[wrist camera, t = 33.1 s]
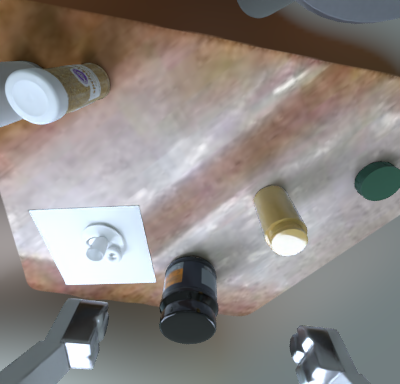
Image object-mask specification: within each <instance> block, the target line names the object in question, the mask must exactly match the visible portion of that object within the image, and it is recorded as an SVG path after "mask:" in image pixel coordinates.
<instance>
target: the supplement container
mask: <svg viewBox="0 0 400 384" xmlns="http://www.w3.org/2000/svg"><path fill="white" fill-rule="evenodd" d="M216 278H217V277H216V272H215V269H214V268H213V266H212V265H211V264H210V263H209V262H207V261H206V260H204V259H201V258H198V257H183V258H179V259H177V260H175V261H174V262H172V263H171V264H170V265H169V267H168V268H167V270H166V274H165V282H164V288H163V294H162V299H161V302H160V312H161V318H160V324H159V327H160V331H161V332H162V334H163V335H164V336H165V337H167V338H168V339H170V340H172V341H174V342H178V343H182V344H196V343H201V342H204V341H206V340H208V339H209V338H211V337H212V336H213V335H214V333H215V331H216V316H217V314H218V303H217V285H216Z"/></svg>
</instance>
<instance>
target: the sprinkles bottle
mask: <svg viewBox="0 0 400 384" xmlns="http://www.w3.org/2000/svg"><path fill="white" fill-rule="evenodd" d="M109 90H110V81H109V78H108V76H107V74H106V72H105V71H104V70H103V69H102V68H101V67H100V66H98V65H96V64H93V63H85V64H82V65H67V66H60V67H54V68H48V69H40V68H27V69H20V70H16V71H14V72H12V73H11V74H10V75H9V76H8V78H7V80H6V83H5V93H6V97H7V100H8V102H9V104H10V105H11V107H12V108H13V110H14V111H15V112H16V113H17V114H18V115H19V116H21V117H22V118H23V119H25V120H27V121H29V122H31V123H34V124H48V123H51V122H54V121H56V120H58V119H60V118H62V117H63V116H64V114H66V113H69V112H73V111H76V110H78V109H80V108H82V107H85V106H87V105H89V104H91V103H93V102H95V101H96V100H100V99H103V98H104V97H106V96H107V95H108V93H109Z"/></svg>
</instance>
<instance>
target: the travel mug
mask: <svg viewBox="0 0 400 384" xmlns="http://www.w3.org/2000/svg"><path fill="white" fill-rule="evenodd" d="M27 68H40V69H43V68H41V67H40V66H38V65H37V64H35V63H32V62H29V61H11V62H0V127H3V126H5V125H8V124H11V123H13V122H16V121H19V120H21V119H23V118H22V117H21V116H19V115H18V114H17V113H16V112H15V111H14V110H13V108H12V107H11V105H10V104H9V102H8V100H7V97H6V93H5V83H6V80H7V78H8V76H9V75H10V74H11V73H12V72H14V71H16V70H20V69H27Z"/></svg>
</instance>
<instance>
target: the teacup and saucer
mask: <svg viewBox="0 0 400 384" xmlns="http://www.w3.org/2000/svg"><path fill="white" fill-rule="evenodd" d="M80 240H81V243H82V245H83V246H84V248H85V249H86V251H85V256H86V258H87V259H88V260H90V261H91V262H95V263H98V262H101V261H102V260H103V259H105V260H106V261H107V262H108V263H109V264H112V265H116V264H119V263H120V262H121V261H122V260H123V258H124V254H123V252H122V251H123V249H124V246H125V243H124V239H123V237H122V236H121V234H120V233H119V232H118V231H117V230H115V229H114V228H112V227H110V226H107V225H104V224H92V225H89V226H87V227H86V228H85V229H84V230H83V231H82V232H81V235H80Z"/></svg>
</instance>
